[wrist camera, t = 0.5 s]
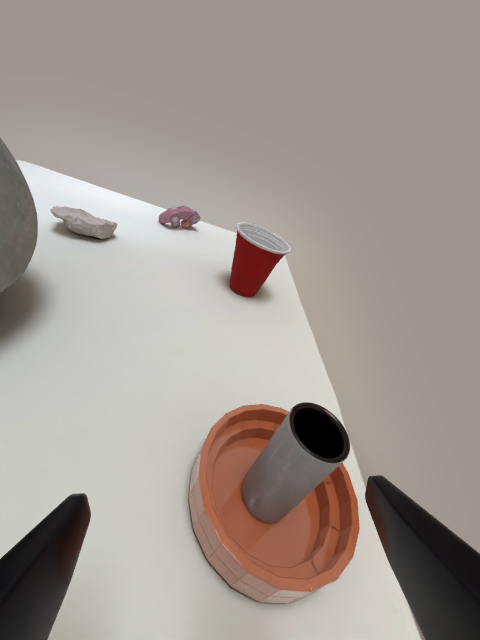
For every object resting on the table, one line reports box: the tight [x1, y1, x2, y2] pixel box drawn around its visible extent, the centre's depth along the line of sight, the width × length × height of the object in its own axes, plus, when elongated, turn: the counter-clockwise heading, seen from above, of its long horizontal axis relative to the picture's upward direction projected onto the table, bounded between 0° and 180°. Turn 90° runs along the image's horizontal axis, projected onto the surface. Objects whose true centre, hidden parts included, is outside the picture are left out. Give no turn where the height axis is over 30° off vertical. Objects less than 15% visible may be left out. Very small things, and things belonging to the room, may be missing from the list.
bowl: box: [189, 404, 359, 603], centre depth 23 cm, size 14×14×4 cm
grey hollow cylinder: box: [242, 403, 350, 523], centre depth 21 cm, size 4×4×10 cm
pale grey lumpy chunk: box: [50, 206, 117, 239], centre depth 51 cm, size 9×6×10 cm
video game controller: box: [159, 206, 200, 228], centre depth 71 cm, size 10×5×7 cm, turn 132°
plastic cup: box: [230, 222, 291, 297], centre depth 52 cm, size 11×11×12 cm
